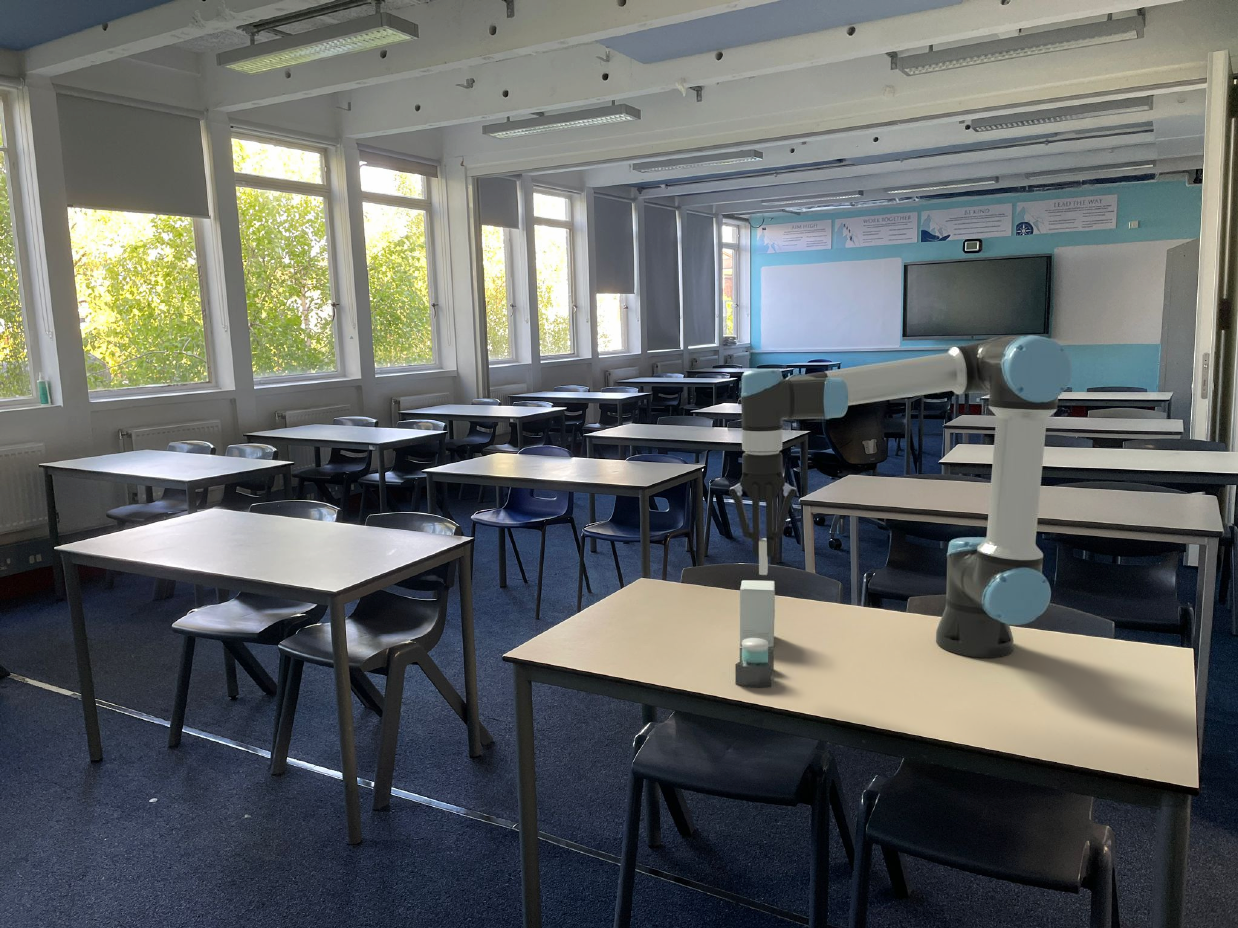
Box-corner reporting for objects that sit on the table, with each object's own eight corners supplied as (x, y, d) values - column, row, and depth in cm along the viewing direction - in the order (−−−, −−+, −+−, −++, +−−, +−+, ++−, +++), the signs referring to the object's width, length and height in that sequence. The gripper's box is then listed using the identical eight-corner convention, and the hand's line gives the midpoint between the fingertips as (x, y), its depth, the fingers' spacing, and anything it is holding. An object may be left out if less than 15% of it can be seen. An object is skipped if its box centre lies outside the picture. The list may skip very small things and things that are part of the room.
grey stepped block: (773, 666, 173) (774, 647, 172) (770, 688, 162) (771, 668, 162) (740, 664, 174) (740, 645, 173) (734, 685, 164) (734, 665, 163)
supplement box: (774, 647, 183) (774, 590, 181) (739, 645, 185) (739, 588, 183) (774, 635, 190) (775, 580, 189) (741, 634, 192) (741, 579, 190)
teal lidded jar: (768, 672, 170) (768, 638, 169) (767, 682, 165) (767, 647, 164) (743, 670, 171) (743, 637, 170) (740, 680, 166) (740, 646, 165)
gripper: (797, 448, 165) (798, 568, 168) (729, 449, 168) (731, 566, 171) (797, 454, 157) (797, 579, 161) (725, 454, 160) (727, 577, 164)
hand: (763, 572), depth 166 cm, fingers closed
